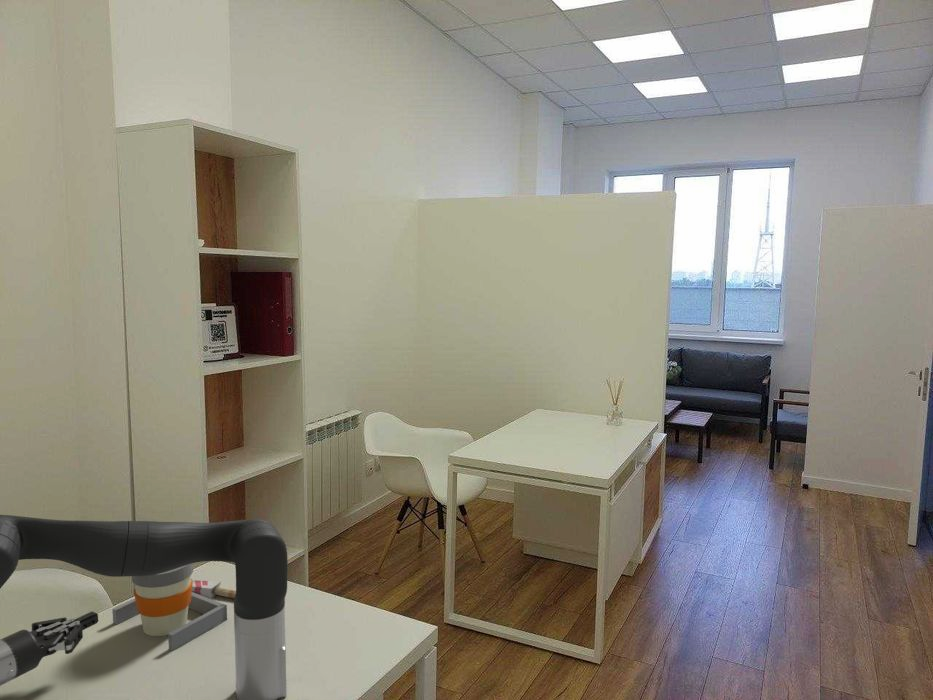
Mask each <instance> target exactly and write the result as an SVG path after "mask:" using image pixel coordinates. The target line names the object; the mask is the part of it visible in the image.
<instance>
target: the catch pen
mask: <svg viewBox="0 0 933 700" xmlns="http://www.w3.org/2000/svg"><path fill="white" fill-rule="evenodd" d="M188 609H190V610H193V611H195V612H197V613H200V614H202V615H200V616H198V617H196V618H194V619H192V620H191V621H189V622H187V623H186V624H185V625H183V626H181V627H180V628H178V629H176V630H174V631H172V632H170V633H169V634H168V635H167V636H168V638H167V639H168V649H169V650H170V651H172V652H173V651H174V650H177V649H179V647H181V646H183V645H185V644H187V643H188V642H190V641H192V640H194V639H196V638H198V637H199V636H201V635H202V634H204V633H206V632H209V631H210V630H211V629H214V628H215V627H217V626H218V625H221V624H222V623H224V622H225V621H227V620H228V606H227V604H224V603H221V602H219V601H216V600H214V599H213V598H207V597H205V596H203V595H200V594H198V593H196V592H194V591H192V594H191V602H190V604H189V605H188ZM111 611H112V622H113V624H114V625H116V626H118V625H119V624H121V623H123V622H126V621H127V620H129V619H132V618H133V617H134V618H135V616H137V615H140V613H138V611H137V606H136V601H135V598H133V599H130V600H128V601H126V602H124V603H122V604H120V605H118V606H115V607H113V608H112V610H111Z"/></svg>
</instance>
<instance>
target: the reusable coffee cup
mask: <svg viewBox="0 0 933 700" xmlns="http://www.w3.org/2000/svg"><path fill="white" fill-rule="evenodd" d="M193 564H194V563H192V564H188V565H185V566H182V567H179V568H176V569H173V570H170V571H167V572H164V573H160V574H156V575H149V576H131V581H132V583H133V585H134V589H133V595H134V599H135V601H136V606H137V611H138V613H140V614H139V615H140V620H141V625H142V630H143V632H144V634H146V635H147V636H150V637H165V636H168V634H169V633H170V632H172V631H174V630H176V629H178V628H180V627H181V626H183V625H185V624H187V623H188V613H189V612H188V611H189V608H188V605H189V604H190V602H191V594H192V592H193V591H192V585H193V581H192V580H193V579H192V574H193V573H194V565H193Z"/></svg>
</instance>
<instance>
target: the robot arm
mask: <svg viewBox="0 0 933 700" xmlns="http://www.w3.org/2000/svg"><path fill="white" fill-rule="evenodd" d="M22 560H53V561H59V562H64V563H66V564H67V563H68V564H70V565H73V566H75V567H78V568H81V569H83V570H85V571H88V572H91V573H94V574H97V575H101V576H104V577H113V578H114V577H118V578H119V577H132V576H149V575H156V574H160V573H164V572H167V571H170V570H173V569H176V568H179V567H182V566H185V565H188V564H192V563H193V564H196V563H204V562H225V563H234V564H235V565H234V566H235V591H236V594H235V597H234V599H233V622H234V626H233V627H234V656H235V657H234V658H235V659H234V663H235V666H234V667H235V690H236V692H235V693H236V699H237V700H278V699H280V698H285V697H287V657H286V656H287V654H286V653H287V652H286V650H287V649H286V648H287V647H286V642H287V641H286V608H285V607H286V595H287V592H288V567H289V566H288V549H287V545H286V542H285V540H284V538H283V537H282V536H281V534H280V532H279V530H278V529H277V527H275V525H273V524H272V523H270V522H269V521H267V520H265V519H258V518H251V519H239V520H228V521H217V522H215V521H214V522H189V521H184V522H183V521H154V520H153V521H151V520H147V521H146V520H112V521H111V520H110V521H108V520H107V521H106V520H105V521H104V520H66V519H65V520H64V519H49V518H39V517H28V516H22V515H21V516H19V515H10V514H0V589H1V588H2V587H3V586H4V585H5V584H6V583H7V581H8V580H9V579H10V578H11V576H12V575H13V574H14V572H15V570H16V569H17V566H18V563H19V561H22ZM98 622H99V614H98V613H97V612H94V611H89V612H87V613H86V614H84V615H81V616H79V617H77V618H69V619H67V617H64V616H63V617H60V618H59V617H58V618H54V619H48V620H42V621H36V622H32V623H31V630H27V629H21V630H18V631H16V632H13V633H12V634H9V635H7V636H5V637H3V638H0V687H1V686H3V685H5V684H7V683H9V682H11V681H13V680H15V679H17V678H19V677H20V676H22V675H25V674H26V673H29V672H30V671H33V670H34V669H36V668H37V667H38V666H39V664H40V663H41V661H42V659H43V658H45V657H47V656H52V655H53V654H55V653H56V652H59V651H64V653H65V654H66V655H69V654H72V653H73V651H74V650H75V649H76V647H77V646H78V645H79V643H80V642H81V641H82V639H83V637H84V634H83V631H84V630H86V629H88V628H90V627H92V626H95V625H96V624H98Z"/></svg>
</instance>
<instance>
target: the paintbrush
mask: <svg viewBox="0 0 933 700" xmlns="http://www.w3.org/2000/svg"><path fill="white" fill-rule="evenodd" d="M192 581H193V585H192V592H194V593H196V594H199V595H201V596H204V597H207V598H209V599H213V598H214V597H215V596H216V595H217V596H221V597H225V598H230V599H233V600H234V597H235V594H236V590H235V589H230V588H225V587H223V586H221V583H222V581H217V580H216V581H214V580H193V579H192ZM220 586H221V587H220Z"/></svg>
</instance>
